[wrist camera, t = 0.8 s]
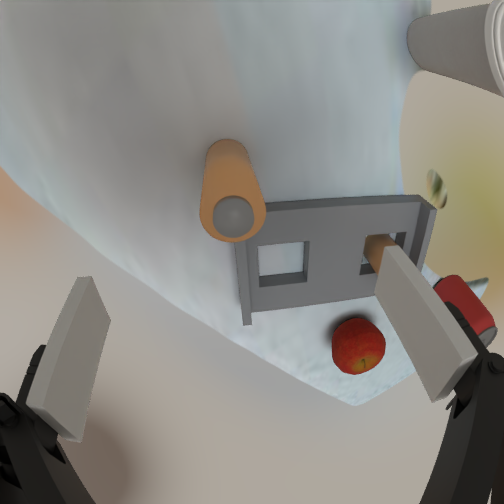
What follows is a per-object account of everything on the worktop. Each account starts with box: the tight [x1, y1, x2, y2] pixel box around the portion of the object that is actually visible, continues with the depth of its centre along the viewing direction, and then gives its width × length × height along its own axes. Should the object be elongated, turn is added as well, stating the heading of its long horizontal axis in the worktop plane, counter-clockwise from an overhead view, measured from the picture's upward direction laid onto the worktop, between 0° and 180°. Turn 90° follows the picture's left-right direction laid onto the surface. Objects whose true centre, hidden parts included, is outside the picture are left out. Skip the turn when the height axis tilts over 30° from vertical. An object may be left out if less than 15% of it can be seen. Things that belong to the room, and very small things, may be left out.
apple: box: [332, 318, 386, 375], centre depth 40 cm, size 8×8×8 cm
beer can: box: [434, 275, 497, 348], centre depth 37 cm, size 7×7×12 cm
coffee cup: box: [407, 0, 504, 97], centre depth 16 cm, size 10×10×15 cm
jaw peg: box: [200, 139, 266, 242], centre depth 23 cm, size 4×4×13 cm
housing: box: [235, 195, 437, 326], centre depth 30 cm, size 13×22×13 cm, turn 93°
